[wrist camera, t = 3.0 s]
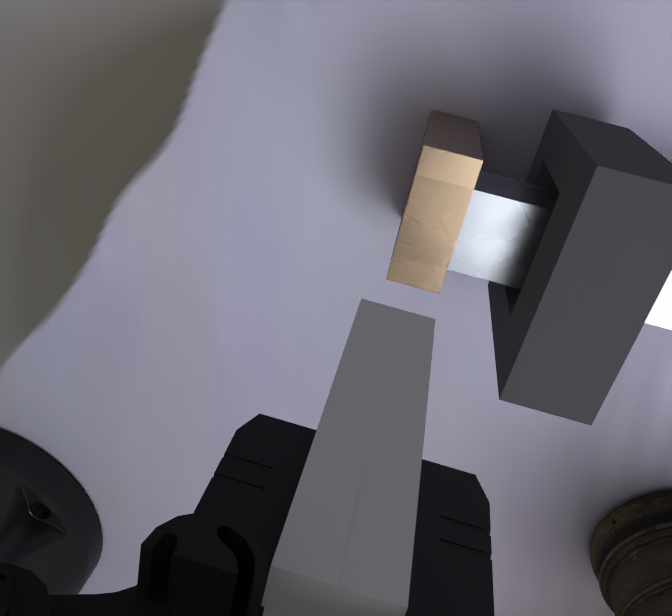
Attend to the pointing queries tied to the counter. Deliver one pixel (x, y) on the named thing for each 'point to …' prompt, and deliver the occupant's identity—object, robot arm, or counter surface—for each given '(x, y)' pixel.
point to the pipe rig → (474, 218)
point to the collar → (585, 269)
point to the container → (636, 557)
